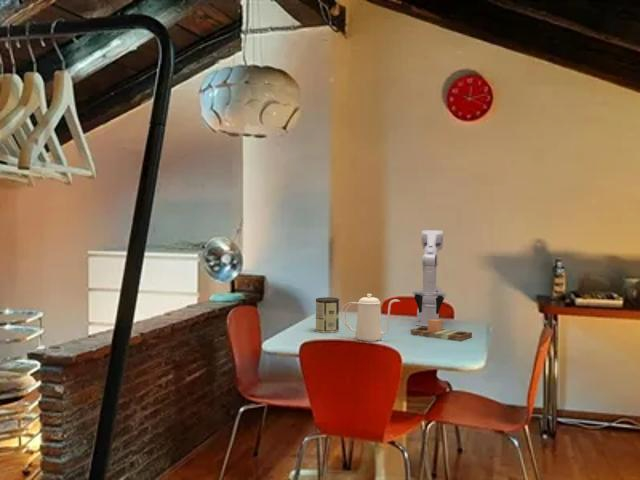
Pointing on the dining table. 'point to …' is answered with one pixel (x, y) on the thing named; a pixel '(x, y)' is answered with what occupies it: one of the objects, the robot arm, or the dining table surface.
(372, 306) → the coffeepot
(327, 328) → the coffee can
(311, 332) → the dining table surface
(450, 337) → the board
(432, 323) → the block
